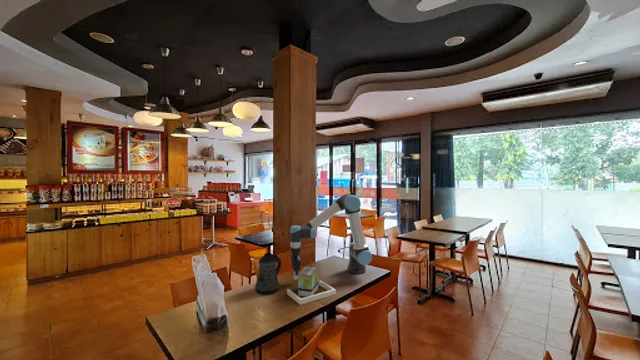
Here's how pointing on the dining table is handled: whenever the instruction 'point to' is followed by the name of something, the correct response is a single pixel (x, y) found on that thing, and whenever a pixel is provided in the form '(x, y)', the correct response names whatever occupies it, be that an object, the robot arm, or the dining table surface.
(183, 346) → the dining table surface
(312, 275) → the tea box
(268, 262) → the beer stein
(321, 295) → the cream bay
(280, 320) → the dining table surface
